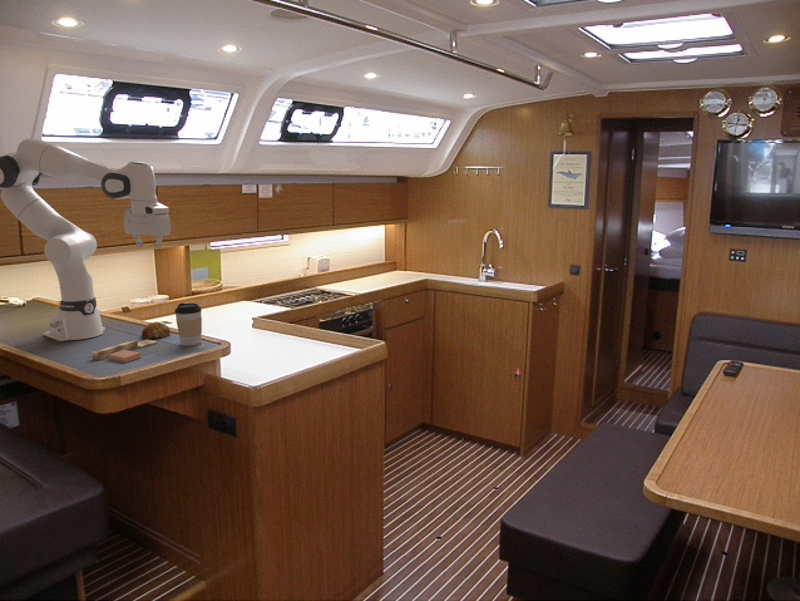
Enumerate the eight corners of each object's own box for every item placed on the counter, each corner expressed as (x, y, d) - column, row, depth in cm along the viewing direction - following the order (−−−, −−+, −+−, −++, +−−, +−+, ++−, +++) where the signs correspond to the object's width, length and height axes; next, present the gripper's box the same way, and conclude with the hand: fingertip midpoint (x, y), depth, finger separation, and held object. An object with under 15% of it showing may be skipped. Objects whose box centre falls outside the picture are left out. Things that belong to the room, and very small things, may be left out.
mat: (87, 360, 214) (87, 357, 213) (144, 343, 233) (144, 340, 233) (119, 366, 206) (119, 363, 206) (176, 348, 226) (176, 345, 225)
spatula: (100, 360, 209) (99, 353, 208) (89, 358, 212) (88, 351, 211) (157, 343, 229) (157, 336, 228) (147, 341, 231) (146, 335, 231)
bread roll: (173, 345, 243) (176, 324, 245) (161, 341, 233) (164, 319, 235) (148, 345, 244) (151, 324, 246) (135, 340, 234) (137, 319, 236)
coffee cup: (210, 343, 231) (206, 302, 228) (192, 350, 223) (188, 307, 220) (190, 341, 235) (186, 300, 232) (172, 347, 227) (168, 305, 223)
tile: (108, 354, 210) (124, 357, 206) (124, 349, 215) (140, 352, 211) (109, 359, 210) (125, 362, 207) (124, 354, 215) (140, 357, 212)
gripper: (117, 208, 229) (121, 247, 232) (157, 209, 220) (161, 249, 222) (132, 207, 235) (136, 245, 238) (172, 208, 225) (175, 247, 228)
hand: (148, 247), depth 230 cm, fingers open, 8 cm apart
